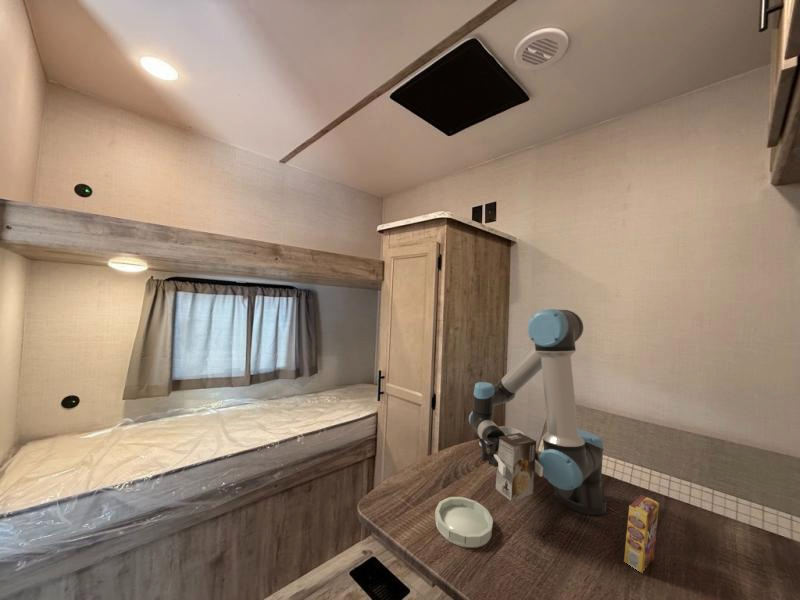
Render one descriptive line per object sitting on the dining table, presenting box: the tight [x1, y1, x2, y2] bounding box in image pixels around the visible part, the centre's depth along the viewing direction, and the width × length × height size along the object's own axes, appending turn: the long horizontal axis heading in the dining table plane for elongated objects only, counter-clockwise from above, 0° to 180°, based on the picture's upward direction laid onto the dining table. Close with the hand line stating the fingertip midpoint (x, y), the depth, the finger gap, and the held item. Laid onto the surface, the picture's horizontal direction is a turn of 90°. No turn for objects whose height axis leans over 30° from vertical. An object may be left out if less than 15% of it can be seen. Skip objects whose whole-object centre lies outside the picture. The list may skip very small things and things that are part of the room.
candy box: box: [623, 494, 660, 574], centre depth 79 cm, size 9×4×15 cm, turn 125°
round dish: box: [434, 496, 494, 549], centre depth 88 cm, size 16×16×3 cm
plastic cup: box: [498, 425, 526, 436], centre depth 127 cm, size 11×11×12 cm
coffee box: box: [495, 433, 537, 502], centre depth 90 cm, size 9×6×16 cm
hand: (523, 471), depth 86 cm, fingers closed on coffee box, 10 cm apart
